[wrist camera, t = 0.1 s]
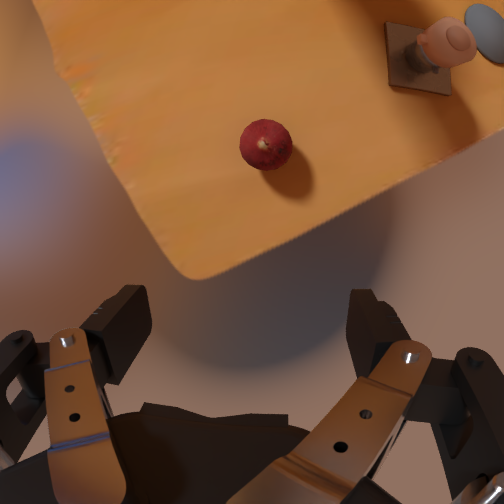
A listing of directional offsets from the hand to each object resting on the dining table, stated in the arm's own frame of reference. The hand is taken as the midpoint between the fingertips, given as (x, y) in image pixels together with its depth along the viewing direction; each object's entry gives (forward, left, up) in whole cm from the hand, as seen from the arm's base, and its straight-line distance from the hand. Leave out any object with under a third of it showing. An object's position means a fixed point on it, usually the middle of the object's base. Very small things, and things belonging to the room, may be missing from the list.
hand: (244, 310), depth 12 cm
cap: (-19, +20, -22) cm, 35 cm away
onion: (-6, 0, -29) cm, 30 cm away
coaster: (-27, +34, -29) cm, 52 cm away
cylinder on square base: (-19, +20, -29) cm, 40 cm away
